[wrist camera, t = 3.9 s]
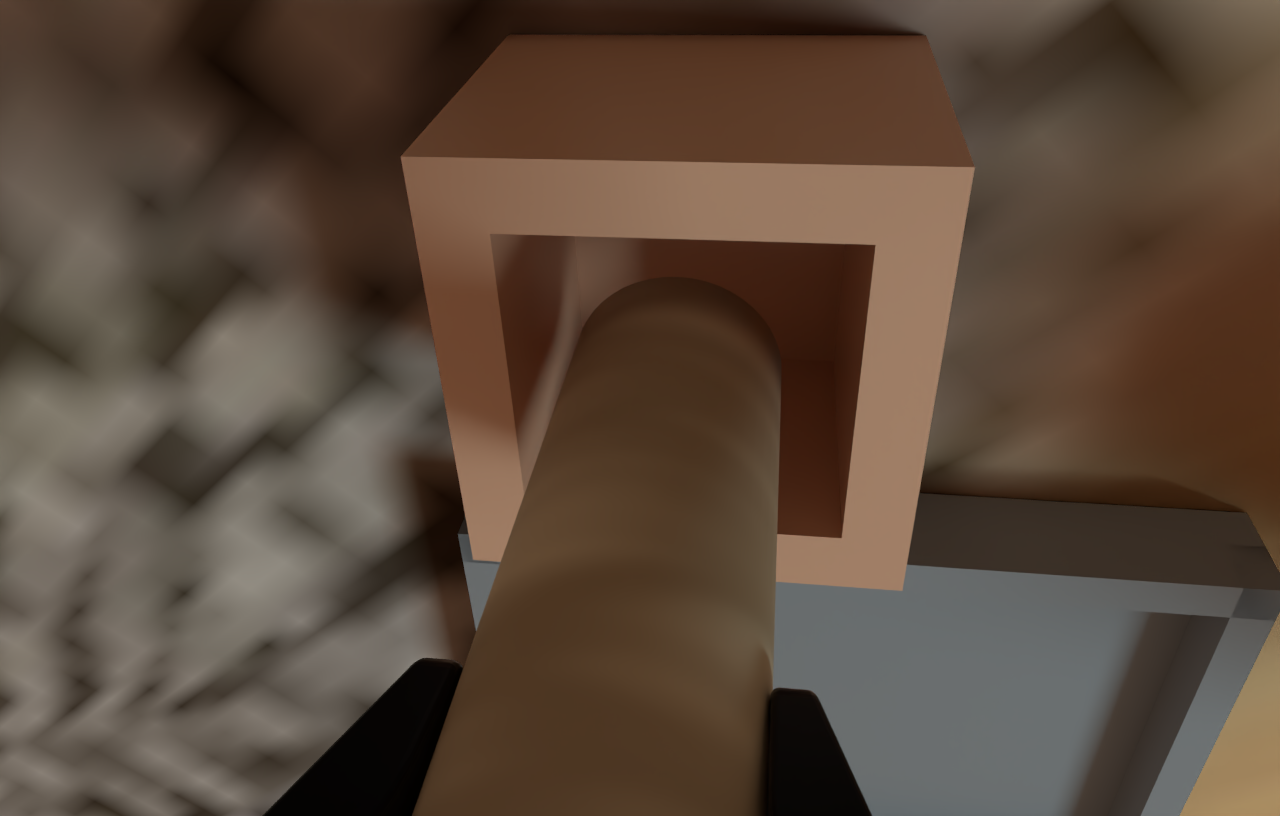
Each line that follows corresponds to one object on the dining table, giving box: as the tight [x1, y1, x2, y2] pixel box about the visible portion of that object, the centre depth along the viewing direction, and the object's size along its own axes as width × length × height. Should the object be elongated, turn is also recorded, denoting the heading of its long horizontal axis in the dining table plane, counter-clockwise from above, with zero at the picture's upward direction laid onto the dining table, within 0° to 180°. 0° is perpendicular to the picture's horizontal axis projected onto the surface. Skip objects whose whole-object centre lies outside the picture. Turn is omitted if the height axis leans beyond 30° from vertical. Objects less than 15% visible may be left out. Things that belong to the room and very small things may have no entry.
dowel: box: [412, 277, 782, 816], centre depth 10 cm, size 3×3×11 cm
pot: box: [401, 35, 975, 591], centre depth 16 cm, size 7×7×6 cm
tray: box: [458, 493, 1280, 816], centre depth 24 cm, size 16×12×2 cm
